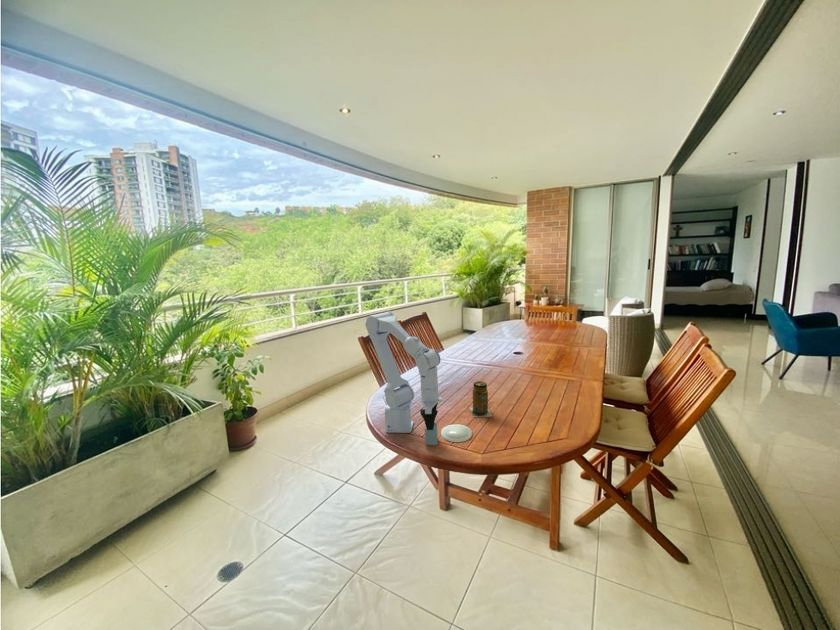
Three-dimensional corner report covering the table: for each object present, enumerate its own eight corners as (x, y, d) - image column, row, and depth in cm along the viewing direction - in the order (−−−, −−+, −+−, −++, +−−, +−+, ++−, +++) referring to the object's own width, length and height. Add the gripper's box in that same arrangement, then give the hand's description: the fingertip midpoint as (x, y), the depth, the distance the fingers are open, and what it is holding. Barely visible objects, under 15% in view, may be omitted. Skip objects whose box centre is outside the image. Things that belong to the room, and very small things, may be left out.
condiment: (486, 406, 141) (486, 379, 139) (492, 416, 133) (492, 387, 130) (469, 408, 141) (468, 380, 138) (473, 418, 132) (473, 389, 130)
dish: (440, 442, 117) (440, 439, 117) (442, 426, 128) (441, 423, 127) (472, 443, 116) (472, 440, 115) (471, 426, 126) (471, 424, 126)
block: (425, 444, 116) (424, 428, 114) (426, 438, 119) (425, 422, 118) (437, 445, 115) (436, 429, 114) (437, 438, 119) (437, 422, 118)
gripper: (440, 395, 106) (441, 435, 108) (442, 378, 120) (443, 413, 122) (417, 395, 107) (419, 434, 109) (422, 378, 121) (424, 413, 123)
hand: (431, 423), depth 116 cm, fingers open, 7 cm apart
